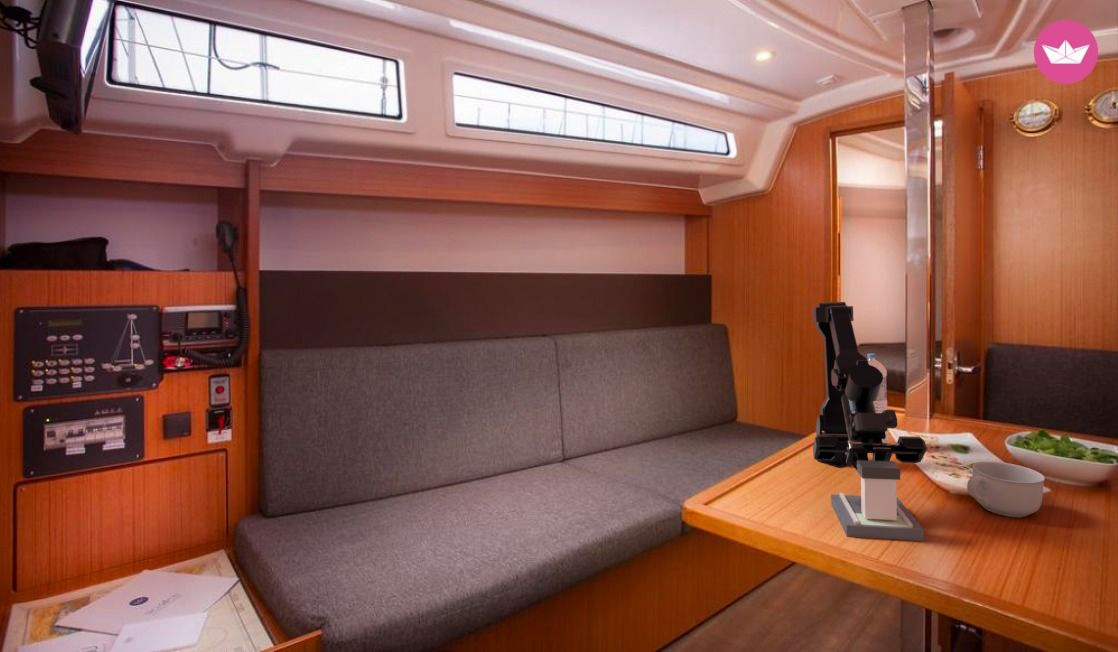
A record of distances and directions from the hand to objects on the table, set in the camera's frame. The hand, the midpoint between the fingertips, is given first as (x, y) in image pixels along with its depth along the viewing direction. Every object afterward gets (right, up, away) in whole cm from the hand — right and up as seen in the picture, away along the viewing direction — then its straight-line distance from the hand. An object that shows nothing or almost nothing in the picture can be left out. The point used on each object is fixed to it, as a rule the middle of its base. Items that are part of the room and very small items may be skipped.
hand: (875, 490), depth 104 cm
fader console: (+1, -6, +2) cm, 7 cm away
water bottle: (+25, -2, +46) cm, 52 cm away
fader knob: (0, -4, -2) cm, 4 cm away
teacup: (+25, -5, +3) cm, 26 cm away
